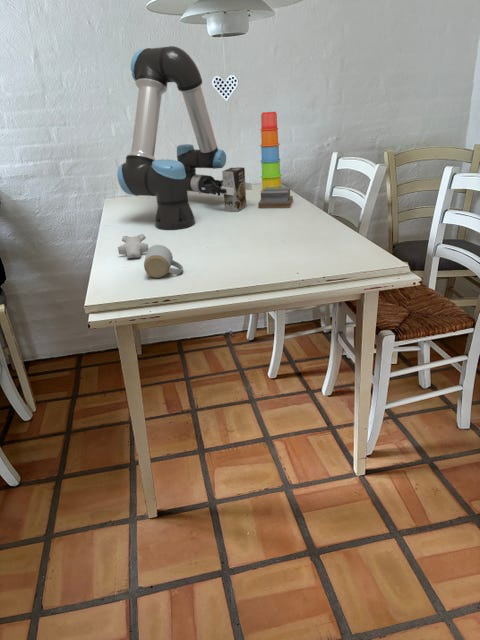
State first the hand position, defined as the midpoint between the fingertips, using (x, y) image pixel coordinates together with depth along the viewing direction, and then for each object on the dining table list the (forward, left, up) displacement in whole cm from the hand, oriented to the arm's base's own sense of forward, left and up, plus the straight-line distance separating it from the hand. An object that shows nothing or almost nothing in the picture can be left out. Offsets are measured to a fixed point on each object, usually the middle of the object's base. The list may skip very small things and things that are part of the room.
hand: (242, 189), depth 193 cm
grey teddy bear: (-53, +26, -9) cm, 60 cm away
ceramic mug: (-71, +10, -9) cm, 72 cm away
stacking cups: (+33, -7, -9) cm, 35 cm away
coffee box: (+2, +4, -9) cm, 10 cm away
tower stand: (+9, -12, -9) cm, 18 cm away
